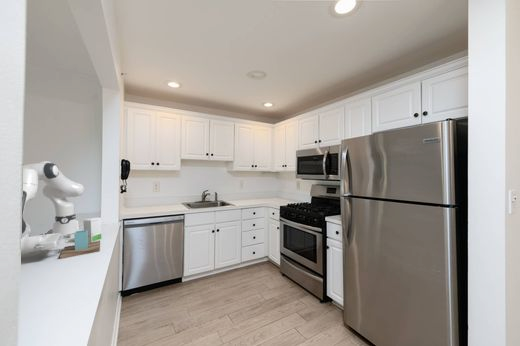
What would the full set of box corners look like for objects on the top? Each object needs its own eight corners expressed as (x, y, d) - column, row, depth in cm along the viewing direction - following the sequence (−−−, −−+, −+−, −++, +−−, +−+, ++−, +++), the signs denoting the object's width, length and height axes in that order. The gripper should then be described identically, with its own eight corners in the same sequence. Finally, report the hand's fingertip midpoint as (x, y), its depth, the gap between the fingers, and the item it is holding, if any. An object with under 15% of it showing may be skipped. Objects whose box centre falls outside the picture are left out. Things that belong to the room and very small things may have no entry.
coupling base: (64, 249, 140) (64, 234, 140) (100, 242, 150) (99, 228, 150) (60, 258, 125) (59, 242, 125) (99, 251, 136) (98, 235, 135)
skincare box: (91, 243, 150) (90, 220, 149) (83, 242, 151) (82, 220, 150) (102, 239, 158) (101, 217, 157) (94, 238, 159) (93, 217, 159)
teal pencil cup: (76, 247, 138) (75, 231, 138) (88, 245, 142) (87, 229, 142) (75, 250, 134) (74, 233, 133) (87, 248, 137) (86, 232, 137)
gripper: (32, 242, 118) (66, 237, 126) (41, 233, 134) (71, 229, 142) (33, 254, 118) (67, 248, 126) (41, 243, 135) (71, 239, 143)
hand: (69, 238), depth 134 cm, fingers open, 8 cm apart
